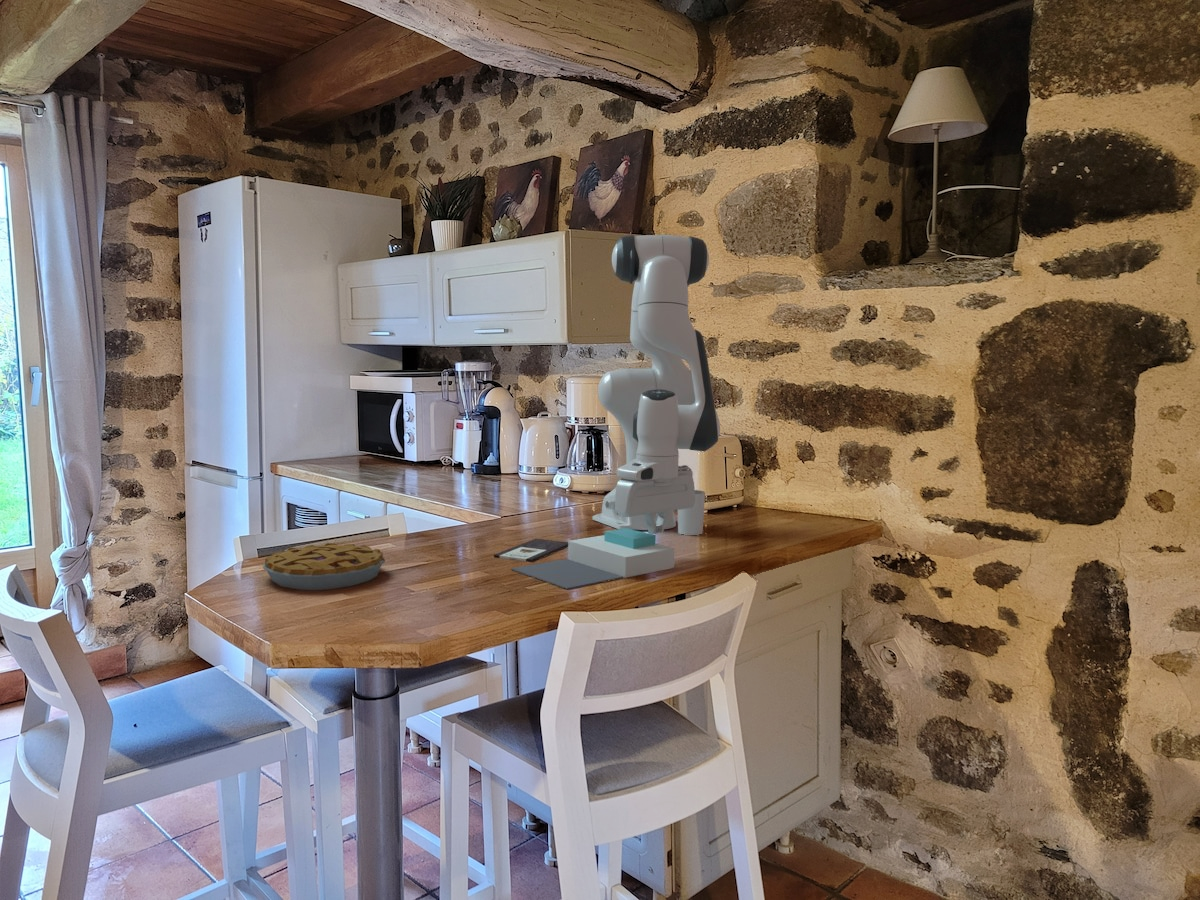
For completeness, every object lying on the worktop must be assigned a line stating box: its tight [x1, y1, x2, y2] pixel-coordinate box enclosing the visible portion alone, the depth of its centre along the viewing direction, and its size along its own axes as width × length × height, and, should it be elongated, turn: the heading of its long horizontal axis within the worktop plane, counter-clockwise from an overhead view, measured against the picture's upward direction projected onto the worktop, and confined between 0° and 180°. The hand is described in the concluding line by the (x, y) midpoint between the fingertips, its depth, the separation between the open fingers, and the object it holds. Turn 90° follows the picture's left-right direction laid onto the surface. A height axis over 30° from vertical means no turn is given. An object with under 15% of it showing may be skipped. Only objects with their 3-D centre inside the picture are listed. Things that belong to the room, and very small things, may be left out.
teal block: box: [604, 528, 656, 549], centre depth 181 cm, size 9×6×2 cm, turn 40°
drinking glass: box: [677, 489, 706, 536], centre depth 210 cm, size 7×7×10 cm
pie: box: [262, 542, 386, 591], centre depth 166 cm, size 22×22×5 cm
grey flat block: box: [567, 534, 675, 578], centre depth 179 cm, size 18×13×4 cm
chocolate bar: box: [493, 538, 568, 563], centre depth 190 cm, size 9×1×18 cm
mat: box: [511, 558, 624, 590], centre depth 171 cm, size 18×14×1 cm
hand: (655, 533), depth 185 cm, fingers closed
